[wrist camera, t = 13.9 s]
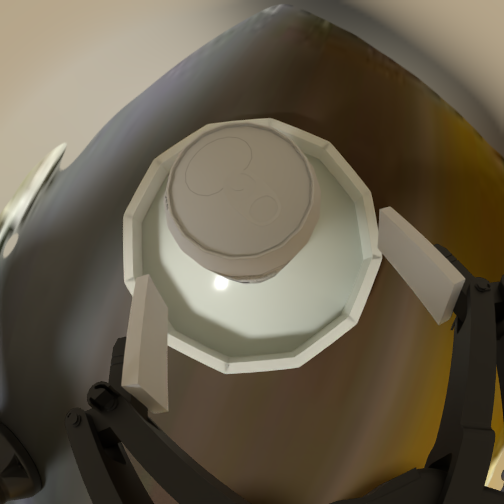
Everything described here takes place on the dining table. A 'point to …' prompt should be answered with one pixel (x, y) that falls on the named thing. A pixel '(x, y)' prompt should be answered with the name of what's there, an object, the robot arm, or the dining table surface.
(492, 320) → the robot arm
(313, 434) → the dining table surface
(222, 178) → the supplement can
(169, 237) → the ceramic bowl
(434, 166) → the dining table surface
